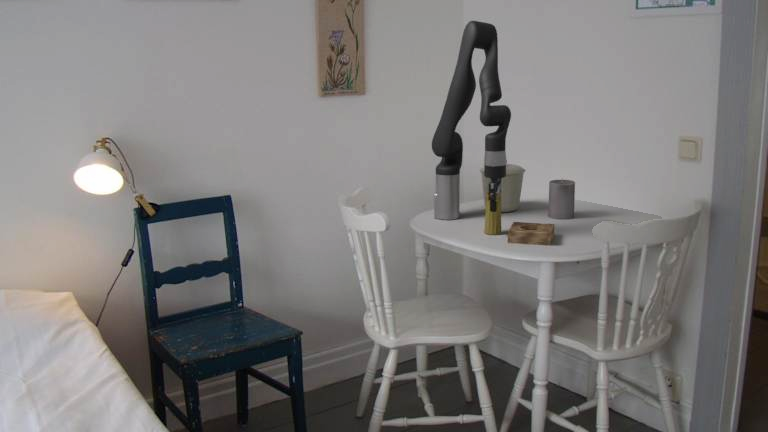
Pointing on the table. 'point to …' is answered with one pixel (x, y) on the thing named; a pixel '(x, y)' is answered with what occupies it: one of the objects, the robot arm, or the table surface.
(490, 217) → the vase
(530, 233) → the socket block
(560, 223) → the table surface
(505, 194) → the canister
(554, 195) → the pillar candle
